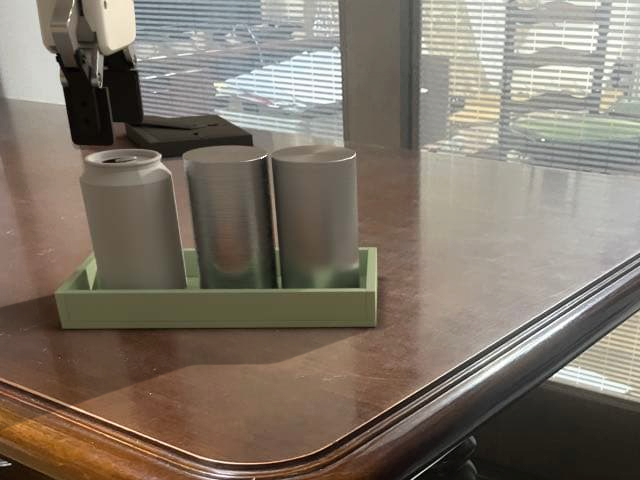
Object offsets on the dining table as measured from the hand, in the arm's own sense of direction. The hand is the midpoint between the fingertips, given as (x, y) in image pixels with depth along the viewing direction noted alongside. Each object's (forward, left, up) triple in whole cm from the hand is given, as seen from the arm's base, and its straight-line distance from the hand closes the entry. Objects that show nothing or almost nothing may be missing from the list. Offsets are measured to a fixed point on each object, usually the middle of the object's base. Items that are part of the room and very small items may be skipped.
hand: (110, 132), depth 71 cm
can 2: (+9, 0, -14) cm, 16 cm away
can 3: (+16, 0, -14) cm, 21 cm away
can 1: (+1, 0, -14) cm, 14 cm away
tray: (+8, 0, -14) cm, 16 cm away
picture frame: (-10, +76, -14) cm, 78 cm away
